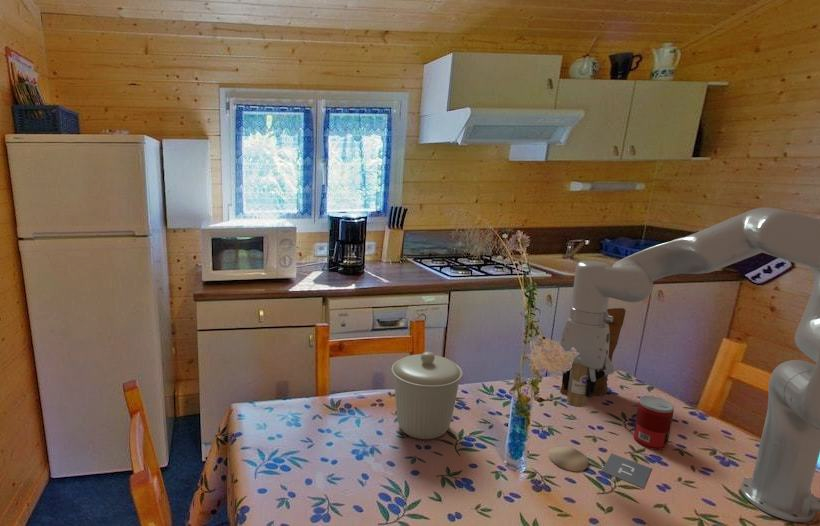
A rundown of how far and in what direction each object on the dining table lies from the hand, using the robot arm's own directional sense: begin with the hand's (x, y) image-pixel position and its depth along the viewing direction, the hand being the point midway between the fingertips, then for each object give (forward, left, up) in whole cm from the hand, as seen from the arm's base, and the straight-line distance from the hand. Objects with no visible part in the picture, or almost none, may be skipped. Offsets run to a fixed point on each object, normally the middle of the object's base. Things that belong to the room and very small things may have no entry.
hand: (577, 390), depth 108 cm
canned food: (-14, -22, -18) cm, 32 cm away
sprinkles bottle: (0, 0, -3) cm, 3 cm away
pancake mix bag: (+7, -38, -18) cm, 43 cm away
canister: (+34, +12, -18) cm, 40 cm away
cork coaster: (0, 0, -18) cm, 18 cm away
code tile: (-12, -5, -18) cm, 22 cm away
